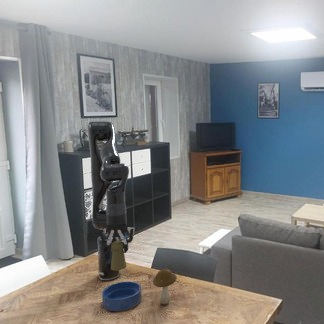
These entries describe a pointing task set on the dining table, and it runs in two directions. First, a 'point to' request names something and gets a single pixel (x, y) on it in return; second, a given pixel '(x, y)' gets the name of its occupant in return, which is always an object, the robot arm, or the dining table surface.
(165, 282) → the mushroom
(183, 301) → the dining table surface
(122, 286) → the bowl
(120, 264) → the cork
